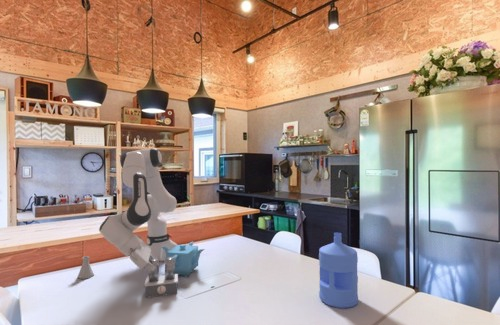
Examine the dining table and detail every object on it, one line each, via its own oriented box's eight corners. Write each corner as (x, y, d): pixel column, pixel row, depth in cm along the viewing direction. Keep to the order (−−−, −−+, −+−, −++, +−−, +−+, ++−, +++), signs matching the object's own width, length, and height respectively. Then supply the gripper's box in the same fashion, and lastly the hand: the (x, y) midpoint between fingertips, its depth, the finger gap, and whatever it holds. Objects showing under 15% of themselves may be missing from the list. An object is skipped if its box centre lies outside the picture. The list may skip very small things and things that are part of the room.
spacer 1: (155, 277, 130) (155, 257, 131) (160, 279, 127) (160, 259, 128) (146, 280, 127) (146, 260, 127) (151, 282, 124) (151, 262, 124)
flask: (74, 277, 145) (74, 258, 145) (88, 273, 151) (88, 254, 151) (83, 280, 141) (83, 260, 141) (96, 275, 148) (96, 256, 148)
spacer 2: (171, 275, 132) (171, 256, 132) (176, 278, 129) (176, 258, 129) (163, 278, 129) (162, 258, 129) (168, 281, 126) (167, 260, 126)
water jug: (328, 288, 130) (327, 227, 131) (363, 298, 120) (362, 232, 121) (312, 301, 118) (312, 234, 119) (350, 313, 108) (349, 240, 109)
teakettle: (171, 282, 138) (171, 252, 138) (160, 270, 154) (160, 243, 154) (207, 274, 149) (206, 246, 149) (193, 263, 164) (192, 238, 164)
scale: (177, 285, 134) (177, 273, 134) (178, 294, 126) (177, 281, 126) (146, 289, 131) (146, 277, 131) (144, 298, 122) (144, 285, 122)
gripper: (134, 247, 116) (159, 268, 118) (139, 235, 135) (161, 253, 138) (122, 259, 114) (148, 280, 117) (129, 245, 134) (151, 263, 137)
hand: (155, 265), depth 128 cm, fingers open, 7 cm apart
